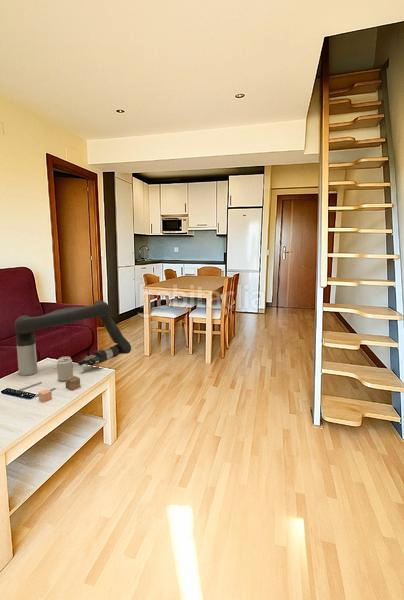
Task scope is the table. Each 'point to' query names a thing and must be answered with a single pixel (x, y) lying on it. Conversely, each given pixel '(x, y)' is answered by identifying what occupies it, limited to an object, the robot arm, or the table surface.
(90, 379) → the table surface
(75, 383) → the walnut block
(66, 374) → the can
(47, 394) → the clay block
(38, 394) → the frame
